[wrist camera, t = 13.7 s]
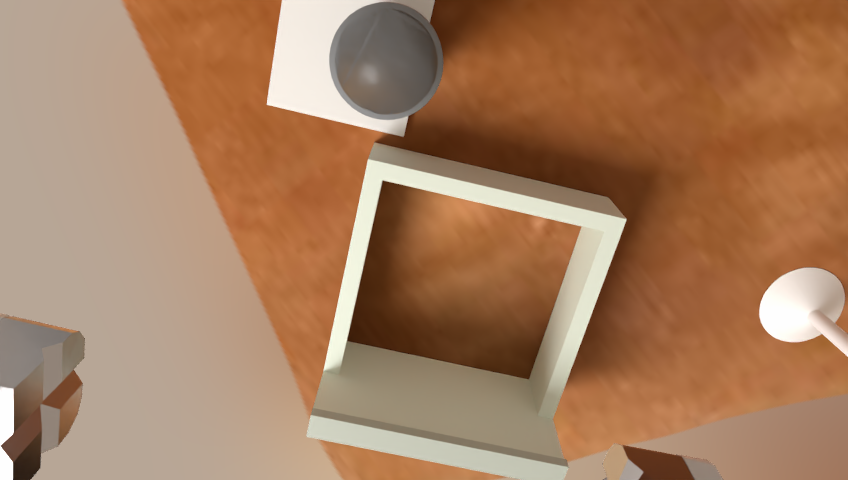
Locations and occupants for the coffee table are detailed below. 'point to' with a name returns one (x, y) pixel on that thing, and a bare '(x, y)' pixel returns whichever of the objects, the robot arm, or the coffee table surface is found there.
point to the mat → (320, 61)
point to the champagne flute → (805, 307)
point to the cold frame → (451, 383)
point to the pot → (386, 60)
